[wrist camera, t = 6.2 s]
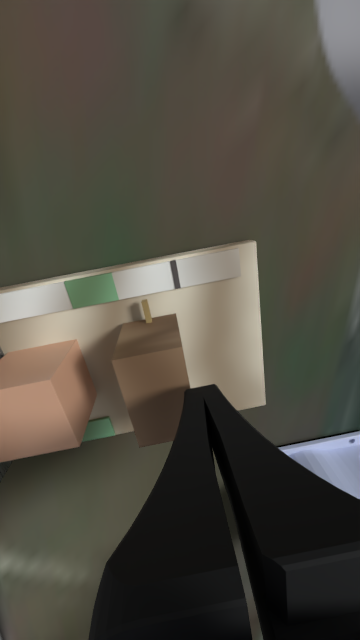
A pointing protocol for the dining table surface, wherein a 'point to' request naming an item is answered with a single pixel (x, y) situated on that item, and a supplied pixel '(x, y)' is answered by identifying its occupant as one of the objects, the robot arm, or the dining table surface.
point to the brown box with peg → (152, 376)
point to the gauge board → (164, 299)
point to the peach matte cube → (44, 400)
